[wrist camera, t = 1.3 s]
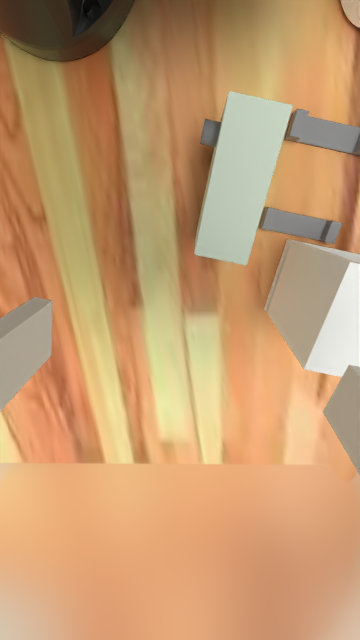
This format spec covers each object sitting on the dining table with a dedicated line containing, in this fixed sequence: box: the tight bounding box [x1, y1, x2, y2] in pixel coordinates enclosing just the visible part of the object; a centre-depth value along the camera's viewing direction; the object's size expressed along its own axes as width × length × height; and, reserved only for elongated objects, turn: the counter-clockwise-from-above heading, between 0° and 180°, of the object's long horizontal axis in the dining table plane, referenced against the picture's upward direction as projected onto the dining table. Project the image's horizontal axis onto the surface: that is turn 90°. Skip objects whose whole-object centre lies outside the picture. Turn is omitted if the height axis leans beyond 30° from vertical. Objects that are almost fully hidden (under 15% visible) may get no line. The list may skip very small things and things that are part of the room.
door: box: [194, 91, 293, 266], centre depth 23 cm, size 10×5×10 cm, turn 169°
